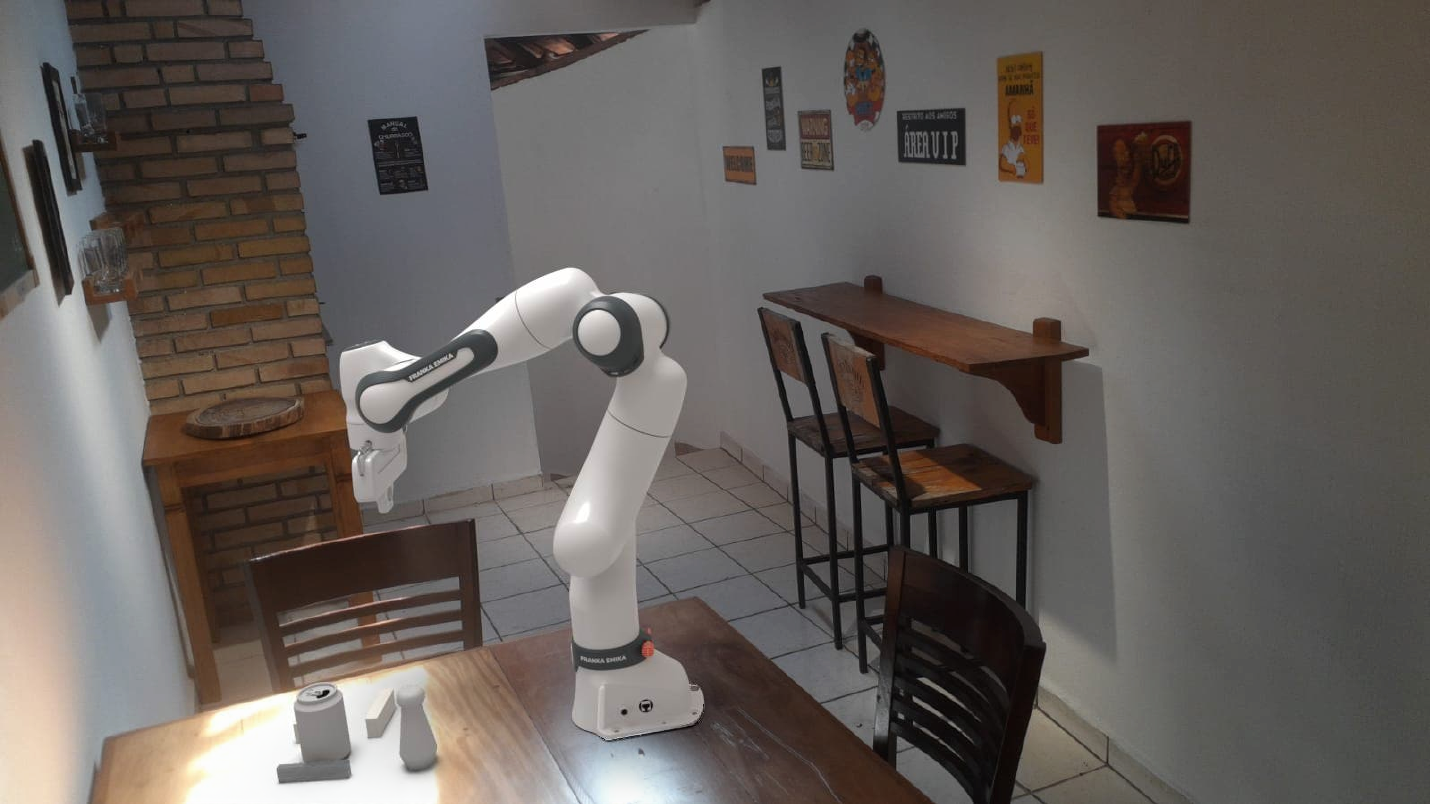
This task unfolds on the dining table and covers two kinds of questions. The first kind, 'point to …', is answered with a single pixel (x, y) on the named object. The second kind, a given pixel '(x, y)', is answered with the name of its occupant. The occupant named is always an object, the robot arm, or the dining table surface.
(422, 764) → the salt shaker
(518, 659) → the dining table surface
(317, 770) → the end bar
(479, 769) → the dining table surface
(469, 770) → the dining table surface
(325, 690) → the can
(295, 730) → the chute
